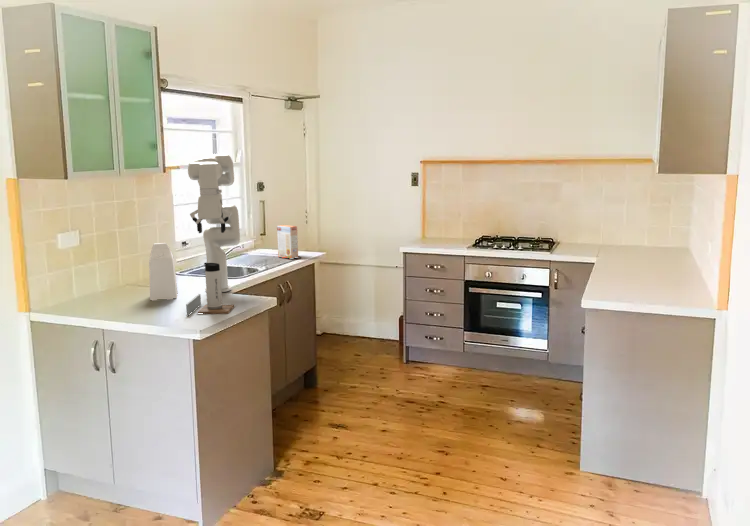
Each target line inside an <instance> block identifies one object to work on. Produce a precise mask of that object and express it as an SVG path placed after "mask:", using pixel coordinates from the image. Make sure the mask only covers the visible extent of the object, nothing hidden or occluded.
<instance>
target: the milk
mask: <svg viewBox="0 0 750 526" xmlns="http://www.w3.org/2000/svg"><path fill="white" fill-rule="evenodd" d="M170 248H171V247H170V246H169V244H168V243H167V242H158V243H153V245H152V248H151V251H150V256H149V259H148V260H149V261H148V274H149V301H150V300H152V301H158V300H157V299H167V300H174V299H173V298H177V299H178V295H177V294H178V293H179V292H178V285H177V284H178V283H177V276H176V267H175V259H174V255H173V252H172V250H171V249H170Z"/></svg>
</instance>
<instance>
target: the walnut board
mask: <svg viewBox="0 0 750 526" xmlns="http://www.w3.org/2000/svg"><path fill="white" fill-rule="evenodd" d="M234 306H235V304H234V303H231V304H230V303H229V304H222V308H220V309H215V310H211V309H208V307H207V304H205V305H204V306H202V307H201V308H200V309H199V310H198V311H197V314H198V313H203V314H202V315H217V314H218V315H224V314H225V315H226V314H227V315H228V314H229V313H230V312H231V311H232V310H233V309H234V308H235V307H234Z"/></svg>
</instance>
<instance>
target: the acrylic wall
mask: <svg viewBox="0 0 750 526" xmlns="http://www.w3.org/2000/svg"><path fill="white" fill-rule="evenodd" d="M201 296H202V295H201V293H198V294H197V295H196V296H195V297H194V298H192V299H191V300H189V301H188V302H186V304H185V307H186V316H187V315H189V314H190V313H191V312H193V311H194V310H195V309H196V308H197V307H198V306H199V307H201V306H202V300H201V299H202V297H201ZM199 307H198V308H199ZM198 308H197V309H198ZM197 309H196V310H197ZM196 310H195V311H196ZM195 311H194V312H195ZM194 312H193V313H194ZM191 314H192V313H191ZM191 314H190V315H191ZM190 315H189V316H190Z"/></svg>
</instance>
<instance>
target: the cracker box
mask: <svg viewBox="0 0 750 526" xmlns="http://www.w3.org/2000/svg"><path fill="white" fill-rule="evenodd" d="M276 229H277V230H276V231H277V233H276V234H277V251H278V252H277V256H278V258H279V257H282V258H281V259H284V258H295V257H298V258H299V245H298V244H299V243H298V242H299V241H298V239H299V238H298V226H296V225H288V224H280V225H277V226H276Z"/></svg>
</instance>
